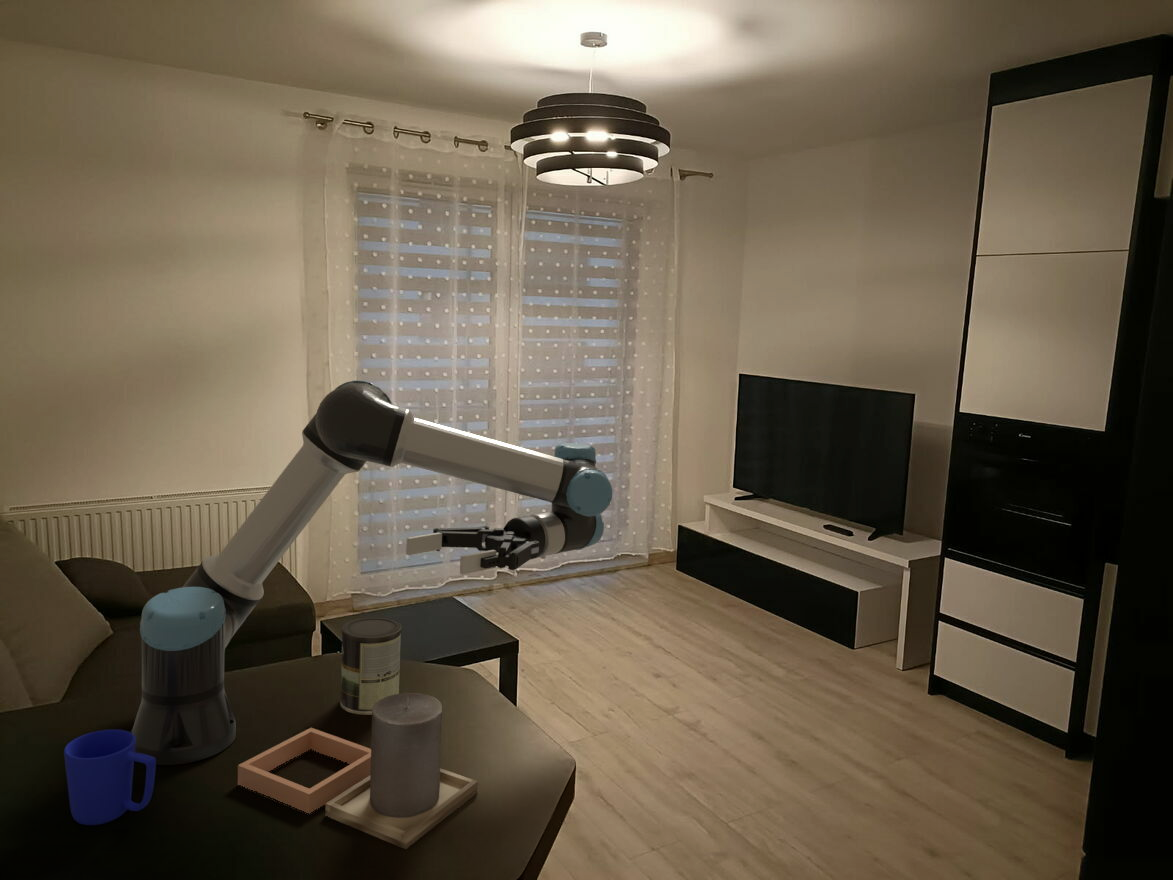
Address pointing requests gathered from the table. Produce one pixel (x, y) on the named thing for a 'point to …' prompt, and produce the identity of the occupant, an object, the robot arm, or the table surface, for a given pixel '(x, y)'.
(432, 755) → the pillar candle
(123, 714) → the table surface
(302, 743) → the holder
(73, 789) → the mug
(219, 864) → the table surface
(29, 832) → the table surface
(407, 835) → the tray
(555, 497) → the robot arm
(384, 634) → the coffee can
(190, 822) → the table surface
